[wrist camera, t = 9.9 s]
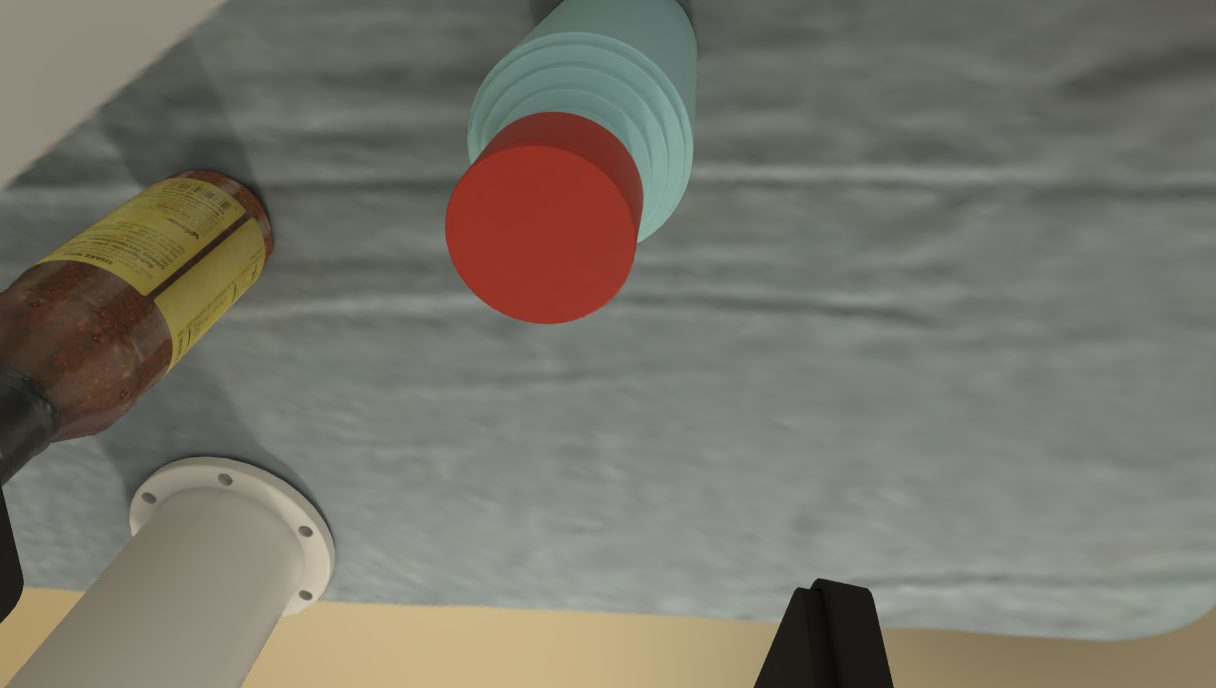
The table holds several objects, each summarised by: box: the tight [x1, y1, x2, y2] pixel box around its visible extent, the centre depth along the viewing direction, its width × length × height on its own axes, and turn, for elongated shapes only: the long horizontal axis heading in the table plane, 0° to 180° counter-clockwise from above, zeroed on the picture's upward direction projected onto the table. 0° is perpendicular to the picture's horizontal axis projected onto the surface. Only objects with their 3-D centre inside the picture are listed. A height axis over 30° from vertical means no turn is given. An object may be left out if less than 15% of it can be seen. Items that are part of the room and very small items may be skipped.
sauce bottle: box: [0, 169, 274, 487], centre depth 33 cm, size 6×6×20 cm
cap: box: [445, 112, 644, 324], centre depth 20 cm, size 4×4×3 cm
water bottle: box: [467, 0, 698, 243], centre depth 27 cm, size 7×7×20 cm
